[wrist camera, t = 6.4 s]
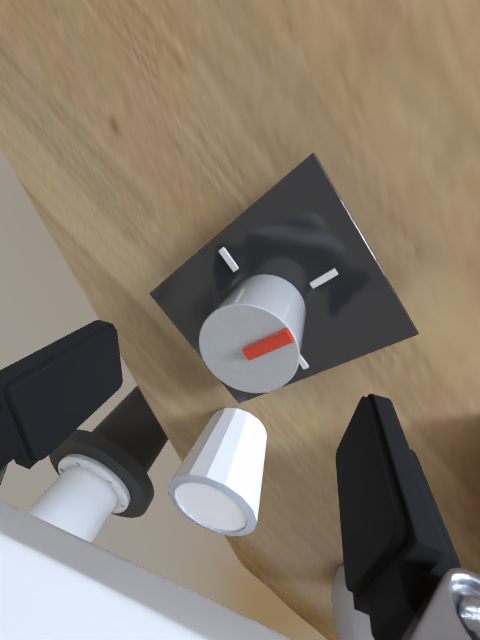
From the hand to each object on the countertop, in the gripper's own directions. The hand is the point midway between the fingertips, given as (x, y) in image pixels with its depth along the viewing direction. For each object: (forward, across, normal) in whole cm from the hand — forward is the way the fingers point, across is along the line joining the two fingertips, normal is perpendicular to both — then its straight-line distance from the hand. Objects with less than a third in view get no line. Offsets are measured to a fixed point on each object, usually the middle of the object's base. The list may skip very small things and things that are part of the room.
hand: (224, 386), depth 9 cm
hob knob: (+6, 0, -1) cm, 6 cm away
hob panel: (+9, 0, -1) cm, 9 cm away
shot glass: (+10, 0, +14) cm, 17 cm away
